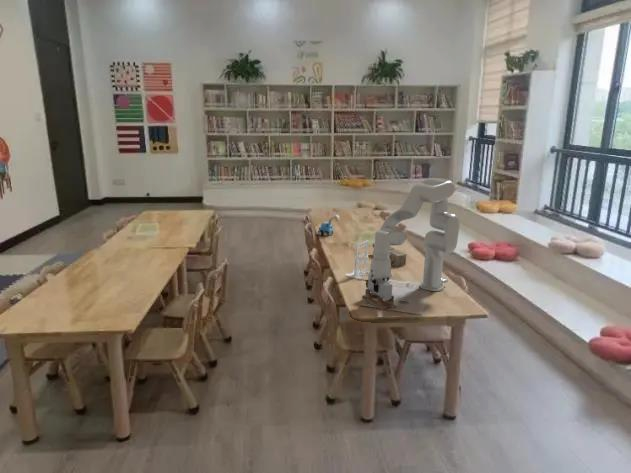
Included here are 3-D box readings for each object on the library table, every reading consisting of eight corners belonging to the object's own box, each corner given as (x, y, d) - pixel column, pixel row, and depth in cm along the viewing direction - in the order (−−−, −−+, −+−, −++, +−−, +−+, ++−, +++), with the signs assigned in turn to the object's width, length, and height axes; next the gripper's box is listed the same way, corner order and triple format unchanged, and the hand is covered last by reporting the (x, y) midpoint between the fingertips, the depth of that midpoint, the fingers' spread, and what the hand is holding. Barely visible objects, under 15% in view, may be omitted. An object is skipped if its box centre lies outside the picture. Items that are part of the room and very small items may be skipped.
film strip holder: (355, 269, 279) (356, 237, 274) (375, 274, 272) (377, 241, 266) (342, 275, 268) (344, 242, 263) (363, 280, 260) (365, 246, 255)
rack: (376, 294, 240) (376, 285, 239) (396, 307, 225) (397, 297, 223) (362, 297, 237) (362, 287, 235) (381, 310, 221) (382, 300, 220)
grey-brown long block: (406, 267, 289) (381, 253, 314) (408, 254, 286) (382, 241, 312) (396, 268, 285) (371, 254, 311) (397, 255, 283) (372, 242, 308)
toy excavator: (334, 238, 349) (335, 216, 345) (316, 235, 358) (316, 213, 353) (340, 236, 356) (341, 214, 352) (322, 233, 365) (322, 211, 360)
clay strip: (373, 287, 237) (374, 274, 235) (391, 298, 223) (392, 285, 221) (367, 288, 236) (368, 275, 234) (385, 299, 222) (386, 286, 220)
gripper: (391, 252, 231) (388, 286, 236) (363, 255, 224) (361, 290, 229) (400, 256, 225) (397, 291, 229) (371, 259, 218) (369, 296, 222)
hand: (379, 290), depth 229 cm, fingers closed on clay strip, 3 cm apart
